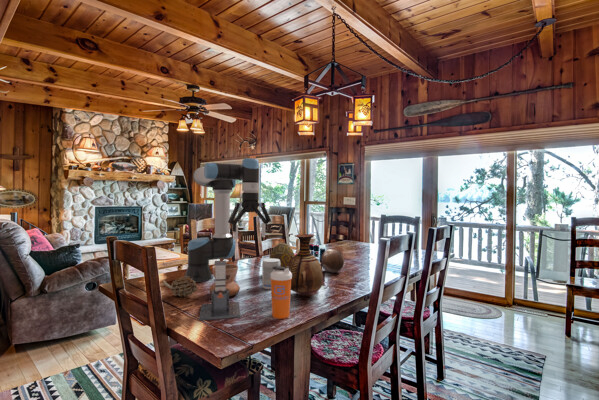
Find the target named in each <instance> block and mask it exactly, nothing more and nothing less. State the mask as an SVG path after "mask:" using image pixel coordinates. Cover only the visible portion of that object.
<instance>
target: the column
mask: <svg viewBox="0 0 599 400" xmlns="http://www.w3.org/2000/svg"><path fill="white" fill-rule="evenodd" d="M227 264H228V262H227V260H214V265H215V266H216V277H214V280H215V281H214V283H215V294H219V293H221V292H222V293H226V288H225V287H226V282H225V281H226V276H225V268H226V265H227Z"/></svg>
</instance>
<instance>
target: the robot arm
mask: <svg viewBox="0 0 599 400" xmlns="http://www.w3.org/2000/svg"><path fill="white" fill-rule="evenodd" d="M259 162H260V161H259V159H258V158H252V157H251V158H249V157H247V158H243V159H242V162H241V164H240V163H239V164H238V163H221V162H220V163H218V162H206V163H205V164H204V166H203V167H198V168H197V169H195V170H194V172H192V173H193V175H192V178H193V181H194V183H196V184H197V185H199V186H202V187H205V188H212V192H213V193H214V234H213V235H212V237H211V238H212V239H210V238H209V237H199V238H198V237H197V238H193V239H190V240H189V241H188V243H187V268H186V270H185V271H186V272H185V274H184V278H185V277H186V276H189V277H190V279H191V278H192V280H194V281H196V282H195V283H204V282H207V281H210V280H212V279H213V272H212V270H211V268H210V261H216V260H226V259H231V258H233V257H234V255H235V254H236V253H235V252H236V245H237V244H236V240H238V239H239V225H238V222H239V221H240V220H241V219H242V218H243V216H244V214H246V213H254V214H255V213H256V215H257V216H258V218H259V219H260V221H261V222H262V223H261V238H266V231H267V230H268V223H271V222H272V220H271V217H270V215H269V213H268V210H267V208H266V203H265V202H262V201H261V202H259V198H260V197H259V195H260V194H259V190H260V189H259V180H260V179H259V175H260V174H259V173H260V169H259V168H260V166H259V165H260V163H259ZM237 181H242V183H241V192H242V193H241V203H240V202H235V205H234V208H233V210H232V212H231V210H230V209H231V203H230V202H231V193H232V192H233V189H234V188H235V187H236V184H237ZM259 207H260V210H261V211H262V213H261V211H260V210H259ZM240 209H241V210H240ZM239 210H240V212H239ZM238 212H239V213H238ZM230 225H231V226H232V232H233V235H234V236H233V235H232V234H231V233H230V231H231V230H230V229H231V226H230Z"/></svg>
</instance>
